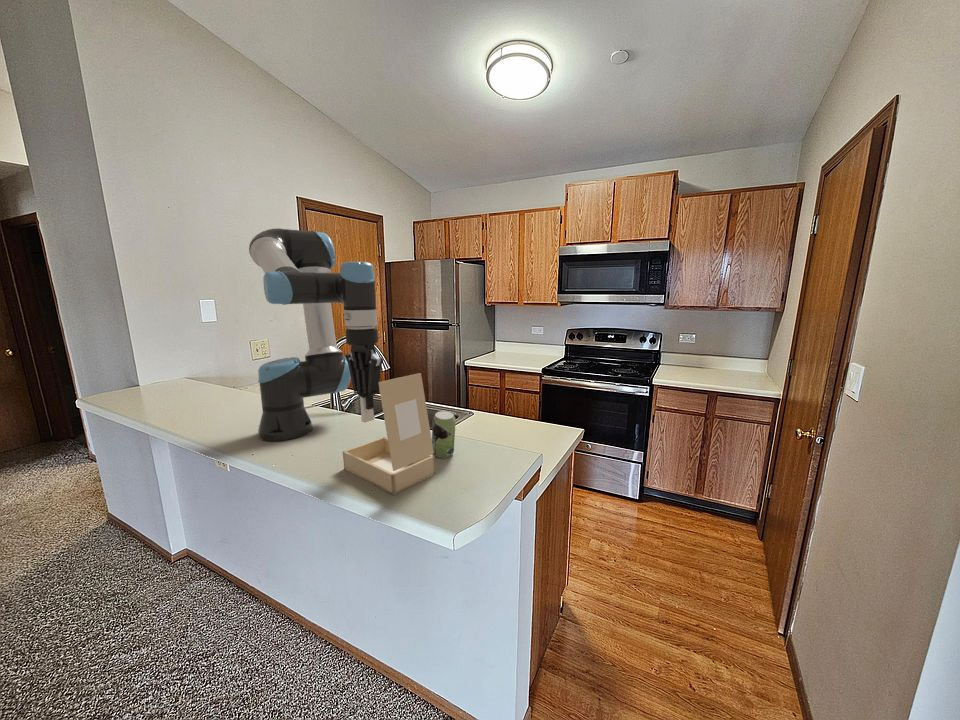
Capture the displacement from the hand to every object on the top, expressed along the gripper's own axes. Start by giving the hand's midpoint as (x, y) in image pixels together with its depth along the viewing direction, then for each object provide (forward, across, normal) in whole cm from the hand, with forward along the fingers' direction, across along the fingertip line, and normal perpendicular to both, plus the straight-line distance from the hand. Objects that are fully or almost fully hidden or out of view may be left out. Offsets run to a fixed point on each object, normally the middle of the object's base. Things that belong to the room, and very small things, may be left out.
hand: (367, 420), depth 95 cm
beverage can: (+12, +12, +15) cm, 22 cm away
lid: (-3, +16, 0) cm, 16 cm away
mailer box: (+12, +8, 0) cm, 14 cm away
